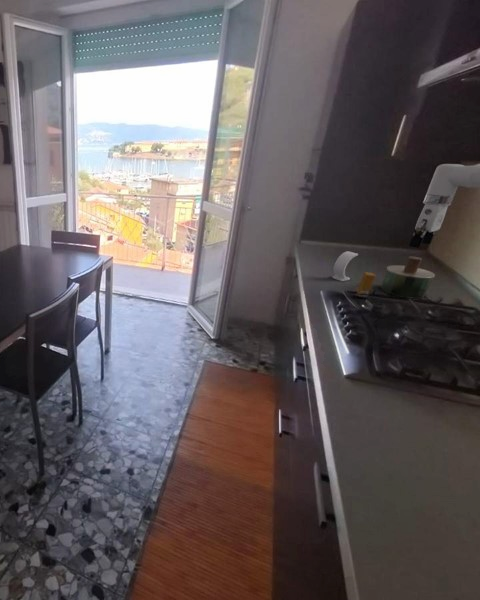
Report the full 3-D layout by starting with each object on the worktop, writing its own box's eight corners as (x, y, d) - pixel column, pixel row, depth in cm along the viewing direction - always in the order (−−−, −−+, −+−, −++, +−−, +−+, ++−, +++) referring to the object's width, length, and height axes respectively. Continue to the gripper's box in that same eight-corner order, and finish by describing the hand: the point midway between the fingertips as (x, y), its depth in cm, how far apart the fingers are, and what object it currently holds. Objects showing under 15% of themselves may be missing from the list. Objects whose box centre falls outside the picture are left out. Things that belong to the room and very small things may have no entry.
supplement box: (368, 299, 139) (376, 275, 135) (357, 298, 140) (365, 274, 136) (365, 296, 142) (373, 272, 138) (355, 295, 143) (362, 271, 139)
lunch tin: (429, 294, 143) (438, 274, 140) (415, 301, 137) (424, 280, 134) (389, 283, 154) (396, 265, 151) (374, 290, 148) (381, 270, 144)
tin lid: (439, 275, 140) (446, 259, 137) (424, 283, 133) (431, 266, 130) (395, 265, 151) (400, 250, 149) (379, 271, 145) (384, 256, 142)
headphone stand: (349, 279, 159) (358, 253, 154) (340, 281, 157) (348, 255, 152) (339, 276, 163) (347, 251, 158) (330, 278, 161) (337, 252, 156)
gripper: (442, 203, 124) (422, 250, 131) (460, 199, 132) (440, 244, 139) (415, 200, 130) (397, 246, 137) (434, 196, 138) (416, 240, 145)
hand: (419, 245), depth 138 cm, fingers open, 9 cm apart
